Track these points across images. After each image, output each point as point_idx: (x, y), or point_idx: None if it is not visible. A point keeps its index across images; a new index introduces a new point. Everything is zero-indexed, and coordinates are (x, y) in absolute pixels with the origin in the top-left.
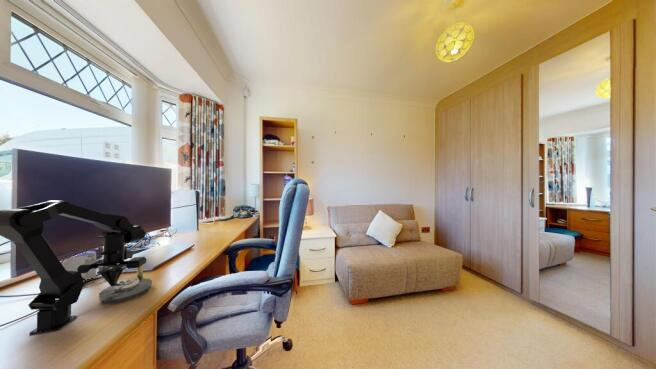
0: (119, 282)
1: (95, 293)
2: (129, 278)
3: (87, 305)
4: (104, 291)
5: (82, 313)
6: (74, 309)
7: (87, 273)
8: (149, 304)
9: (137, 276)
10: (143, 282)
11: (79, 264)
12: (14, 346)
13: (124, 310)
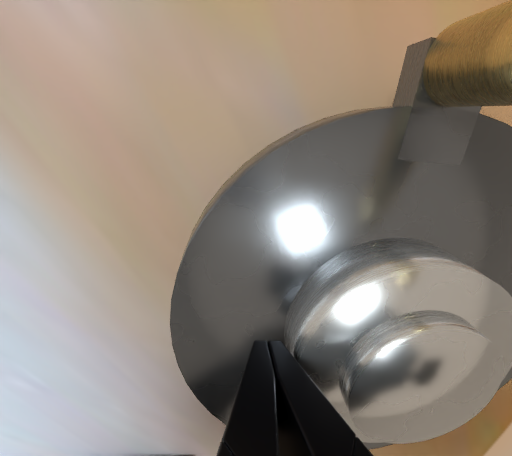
0: (322, 353)
1: (36, 160)
2: (440, 348)
3: (153, 361)
4: (207, 357)
5: (196, 431)
6: (106, 386)
7: None
8: (488, 427)
9: (464, 100)
10: (504, 261)
11: None
12: None
13: (390, 447)
